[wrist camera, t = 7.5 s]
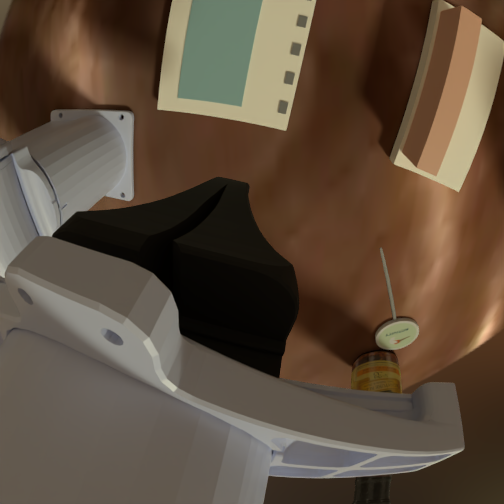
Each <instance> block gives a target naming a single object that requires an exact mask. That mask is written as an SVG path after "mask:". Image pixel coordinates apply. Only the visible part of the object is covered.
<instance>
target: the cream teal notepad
mask: <svg viewBox="0 0 504 504" xmlns="http://www.w3.org/2000/svg"><path fill="white" fill-rule="evenodd" d="M315 3H316V0H172V4H171V10H170V15H169V21H168V26H167V32H166V39H165V45H164V53H163V60H162V68H161V77H160V86H159V97H158V110H168V111H177V112H186V113H193V114H201V115H208V116H214V117H220V118H226V119H232V120H238V121H243V122H248V123H253V124H258V125H263V126H267V127H272V128H276V129H281V130H285V131H286V129H287V125H288V121H289V117H290V113H291V108H292V104H293V100H294V95H295V91H296V87H297V82H298V78H299V74H300V69H301V65H302V61H303V56H304V52H305V47H306V43H307V39H308V34H309V30H310V25H311V21H312V17H313V12H314V8H315Z"/></svg>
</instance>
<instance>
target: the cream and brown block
mask: <svg viewBox="0 0 504 504" xmlns="http://www.w3.org/2000/svg"><path fill="white" fill-rule="evenodd" d="M481 23H482V19H481V18H480V17H478V16H477V15H475V14H474V13H472V12H471V11H469V10H468V9H466V8H465V7H463V6H458V7H454V6H452V5H450V4H449V3H447V2H445V1H443V0H434V1H432V6H431V12H430V17H429V22H428V27H427V32H426V36H425V41H424V45H423V49H422V54H421V58H420V62H419V66H418V69H417V73H416V77H415V80H414V84H413V87H412V91H411V94H410V98H409V101H408V104H407V108H406V111H405V114H404V117H403V120H402V123H401V126H400V129H399V132H398V135H397V138H396V141H395V144H394V147H393V149H392V152H391V155H390V158H389V159H390V160H391V161H392V163H393V164H395V165H397V166H400V167H403V168H405V169H408V170H410V171H413V172H415V173H418V174H420V175H422V176H425V177H427V178H429V179H432V180H434V181H436V182H439V183H441V184H443V185H445V186H447V187H450V188H452V189H454V190H456V191H458V192H459V191H460V189H461V186H462V184H463V182H464V180H465V177H466V175H467V173H468V170H469V168H470V166H471V163H472V161H473V158H474V156H475V153H476V151H477V148H478V145H479V143H480V140H481V137H482V134H483V132H484V129H485V126H486V123H487V120H488V117H489V113H490V110H491V107H492V103H493V100H494V96H495V93H496V89H497V85H498V81H499V77H500V72H501V68H502V63H503V58H504V41H503V40H502V39H501V38H499V37H498V36H497V35H495V34H494V33H493V32H491V31H490V30H489V29H487V28H486V27H485V26H483V25H482V24H481Z"/></svg>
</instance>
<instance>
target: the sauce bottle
mask: <svg viewBox="0 0 504 504" xmlns="http://www.w3.org/2000/svg"><path fill="white" fill-rule="evenodd" d="M351 389H354V390H363V391H374V392H385V393H400V394H402V387H401V375H400V367H399V364H398V359H397V357H396V355H394V354H393V353H390V352H388V351H374V352H370V353H367V354H363V355H361V356H360V357H359V358H358V359H357V360H356V361H355V362H354V364H353V367H352V375H351ZM391 476H392V474H385V475H374V476H362V477H356V480H355V485H356V486H355V494H354V501H353V503H352V504H390V500H389V493H390V482H391Z"/></svg>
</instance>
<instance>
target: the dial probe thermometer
mask: <svg viewBox="0 0 504 504" xmlns="http://www.w3.org/2000/svg"><path fill="white" fill-rule="evenodd" d="M380 252H381V257H382V262H383V267H384V272H385V277H386V282H387V288H388V293H389V299H390V304H391V310H392V316H393V320H391V321H388V322H386V323H385V324H383V325H382V326H381V327H380V328H379V329H378V330H377V332H376V334H375V339H376V343H377V345H378V346H379V347H380V348H383V349H386V350H395V349H400V348H403V347H405V346H407V345H409V344H410V343H412V342H413V341H414V340H415V339H416V338H417V336H418V334H419V327H418V324H417V322H416V321H414V320H413V319H410V318H397V319H396V313H395V307H394V301H393V295H392V290H391V285H390V280H389V275H388V271H387V266H386V262H385V258H384V254H383V251H382V248H380Z"/></svg>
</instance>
